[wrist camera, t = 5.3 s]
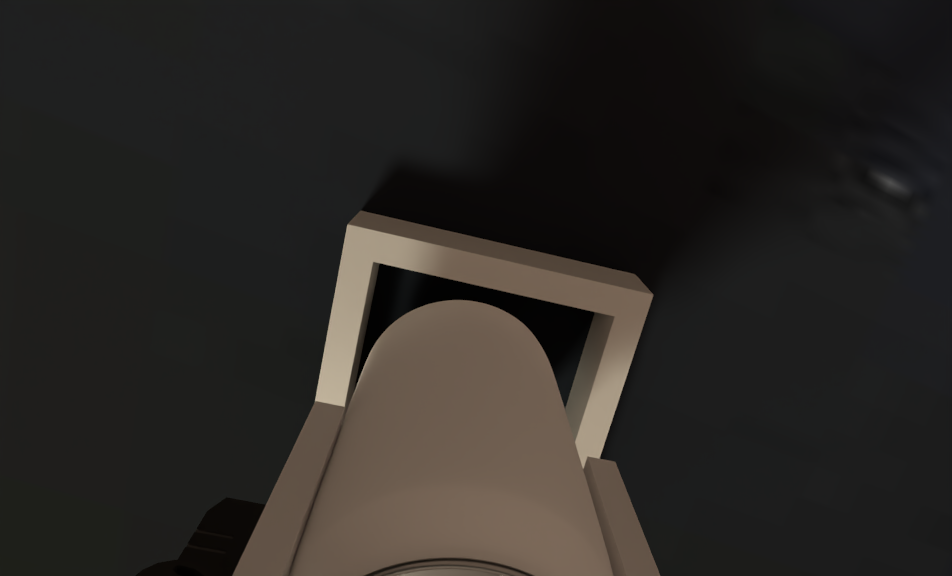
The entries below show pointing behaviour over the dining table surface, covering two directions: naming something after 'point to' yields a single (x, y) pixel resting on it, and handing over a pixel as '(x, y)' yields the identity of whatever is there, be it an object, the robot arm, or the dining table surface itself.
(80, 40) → the dining table surface
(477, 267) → the socket panel
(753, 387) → the dining table surface
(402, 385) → the can
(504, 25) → the dining table surface
